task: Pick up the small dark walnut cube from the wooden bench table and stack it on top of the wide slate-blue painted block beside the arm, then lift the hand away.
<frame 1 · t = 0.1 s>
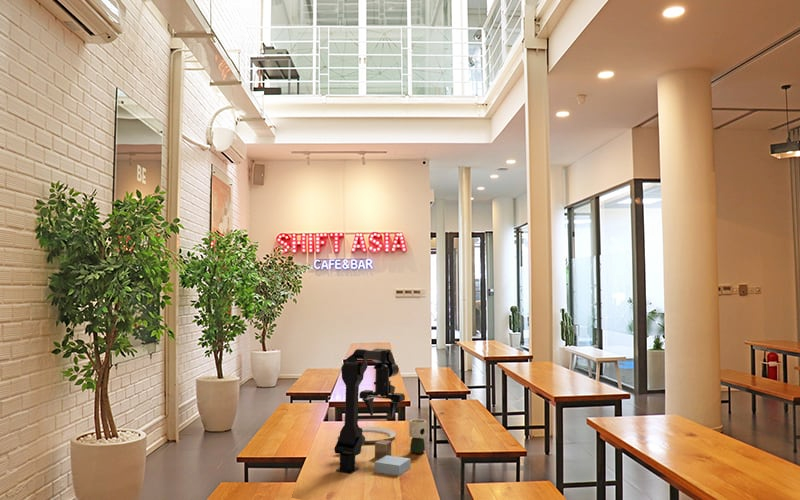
hand: (381, 416, 258), 14 cm above the table, tool pointing down, fingers open, 9 cm apart
slate block: (392, 471, 233), on the table
walnut block: (383, 457, 250), on the table
character mug: (417, 453, 257), on the table
end cap: (352, 451, 258), on the table
plate: (367, 438, 281), on the table
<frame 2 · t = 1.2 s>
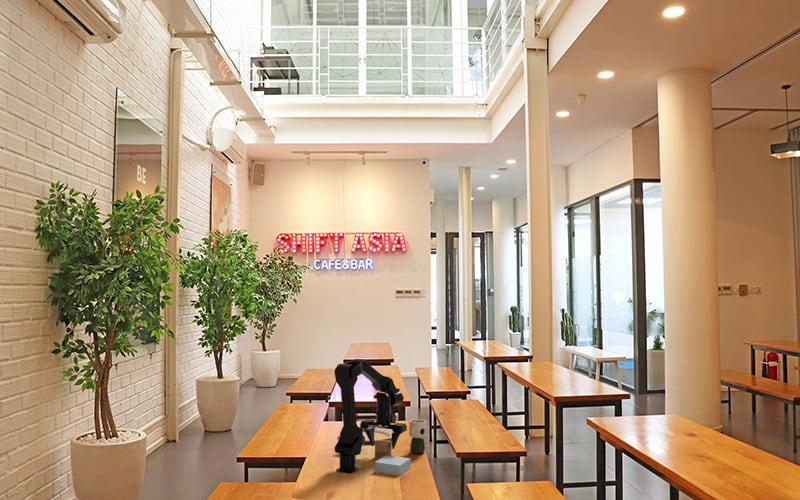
hand: (383, 447, 250), 4 cm above the table, tool pointing down, fingers open, 9 cm apart
nothing on the table moved.
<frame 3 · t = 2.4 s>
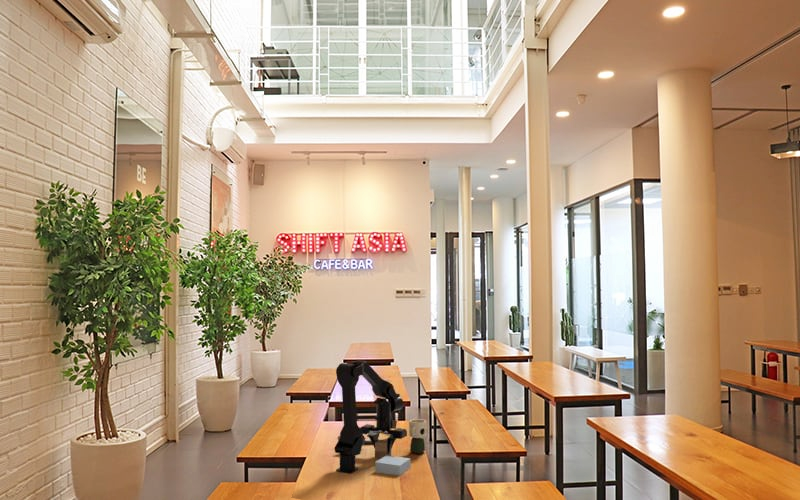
hand: (383, 452, 250), 2 cm above the table, tool pointing down, fingers closed on walnut block, 5 cm apart
walnut block: (383, 456, 250), on the table, touching gripper
everything else where it was.
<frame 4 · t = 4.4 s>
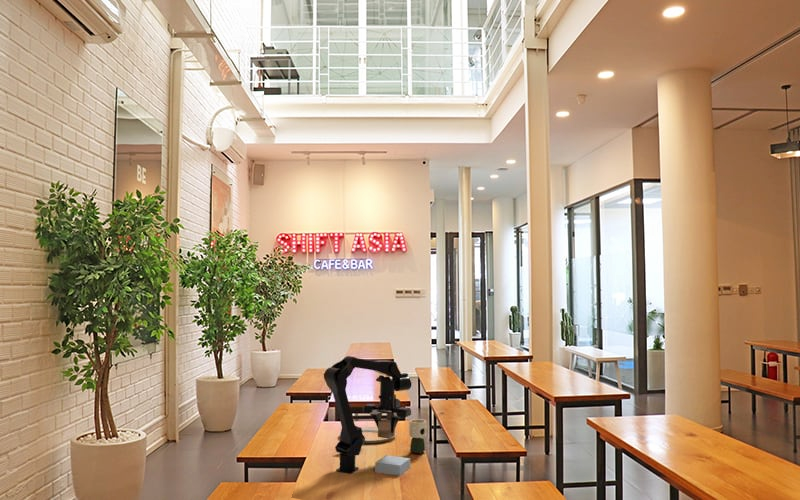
hand: (386, 432, 245), 11 cm above the table, tool pointing down, fingers closed on walnut block, 5 cm apart
walnut block: (386, 436, 245), point 10 cm above the table, touching gripper
everything else where it was.
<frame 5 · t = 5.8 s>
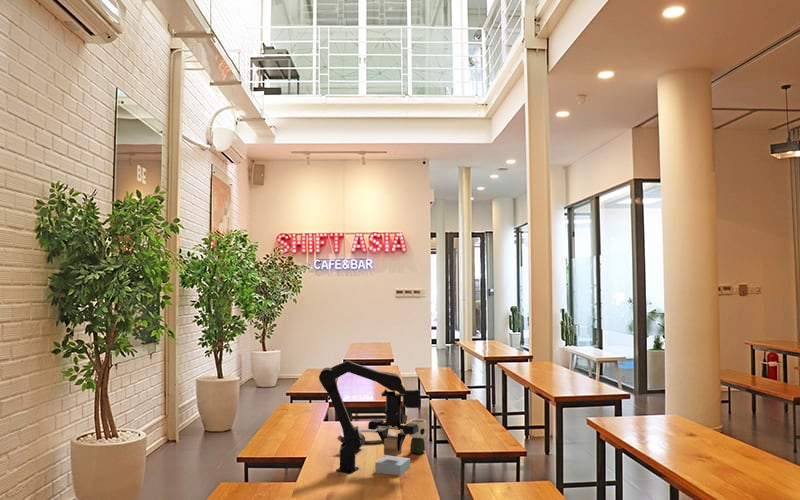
hand: (392, 449, 233), 7 cm above the table, tool pointing down, fingers closed on walnut block, 5 cm apart
walnut block: (392, 453, 233), point 6 cm above the table, touching gripper
everything else where it was.
when the fingers open (7 cm above the table, at t = 6.7 s): walnut block drops 2 cm, resting on slate block.
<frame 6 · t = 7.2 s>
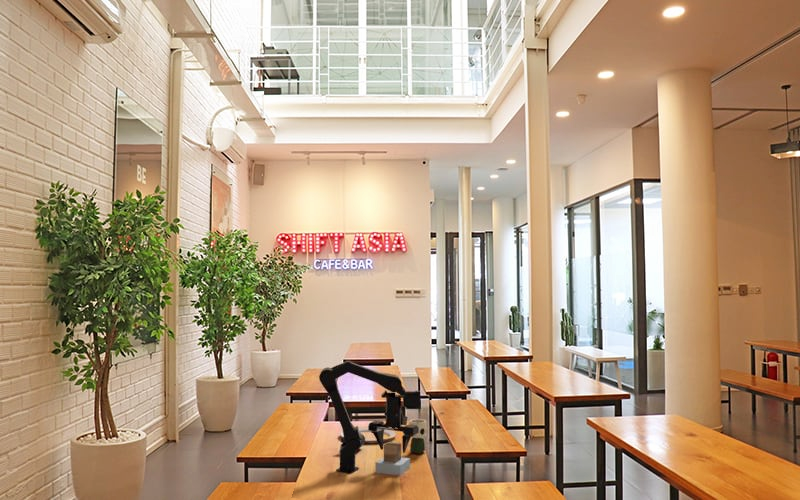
hand: (392, 451, 233), 7 cm above the table, tool pointing down, fingers open, 9 cm apart
slate block: (392, 471, 233), on the table, touching walnut block
walnut block: (392, 460, 233), point 4 cm above the table, touching slate block
everything else where it was.
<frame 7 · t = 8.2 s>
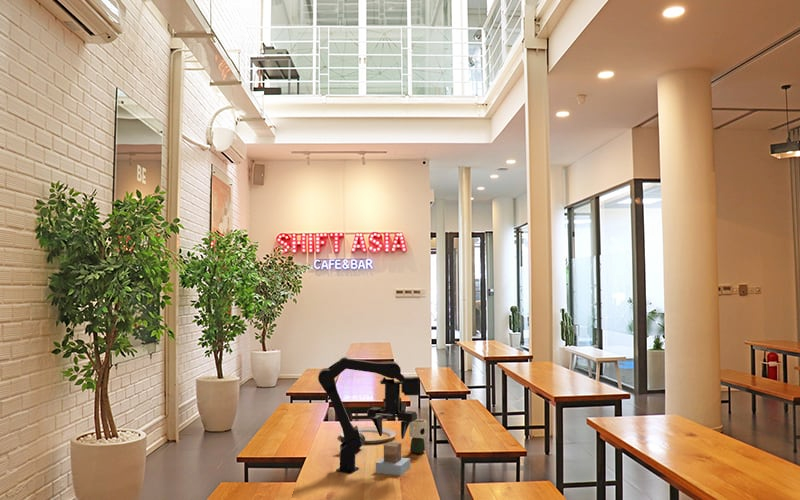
hand: (391, 437, 234), 12 cm above the table, tool pointing down, fingers open, 9 cm apart
slate block: (393, 471, 233), on the table
walnut block: (392, 460, 233), point 4 cm above the table
everything else where it was.
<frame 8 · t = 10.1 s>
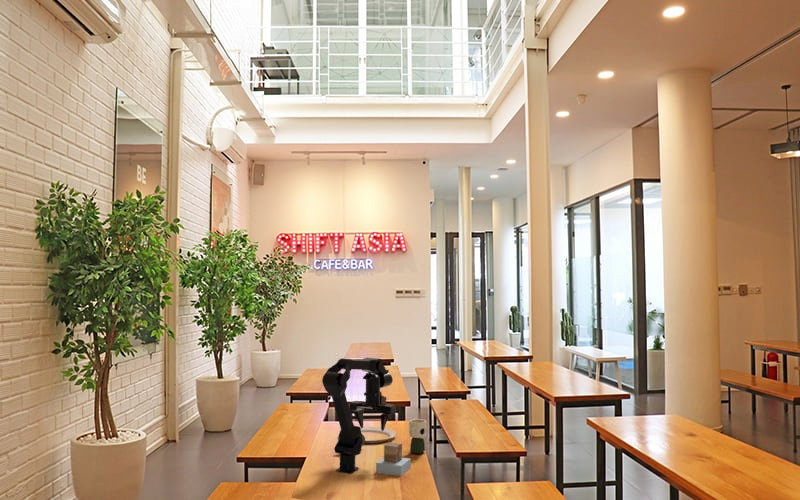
hand: (372, 429, 246), 12 cm above the table, tool pointing down, fingers open, 9 cm apart
slate block: (393, 471, 233), on the table, touching walnut block
walnut block: (392, 460, 233), point 4 cm above the table, touching slate block
everything else where it was.
at the end: walnut block inside the target area on the slate block (0.5 cm from its centre), point 4.0 cm above the slate block's base; walnut block touching slate block; the gripper is holding nothing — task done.
